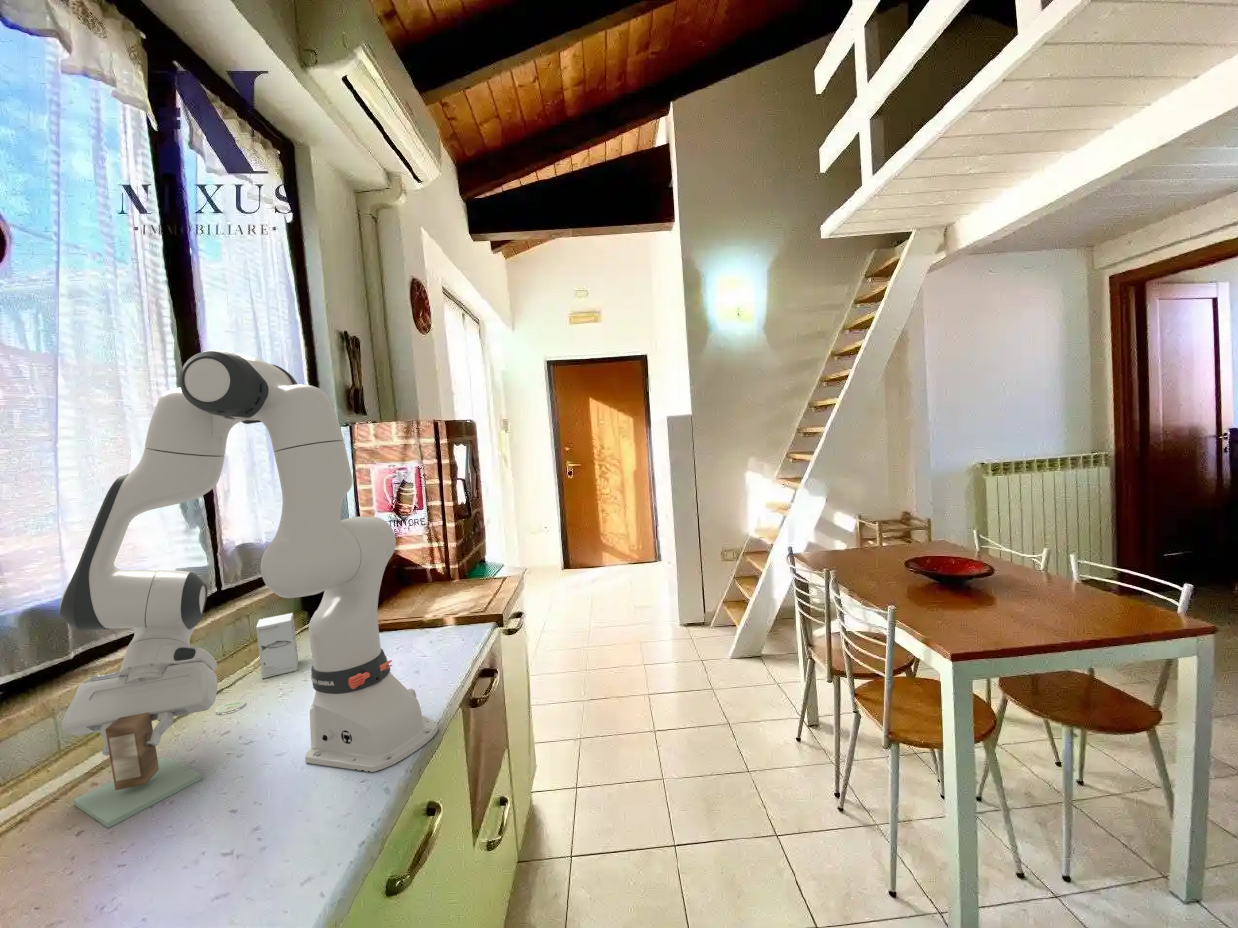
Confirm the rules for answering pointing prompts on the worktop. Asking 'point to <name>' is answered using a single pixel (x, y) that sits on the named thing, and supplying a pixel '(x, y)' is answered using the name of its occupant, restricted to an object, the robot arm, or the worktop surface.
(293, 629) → the supplement box
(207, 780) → the worktop surface
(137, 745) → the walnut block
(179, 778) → the rubber mat
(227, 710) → the sign
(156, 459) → the robot arm
